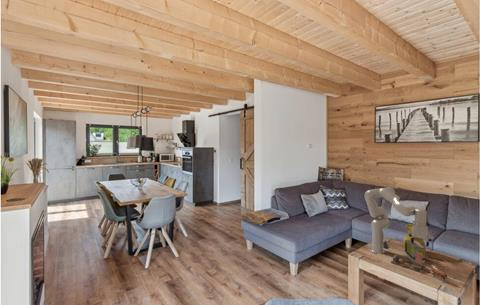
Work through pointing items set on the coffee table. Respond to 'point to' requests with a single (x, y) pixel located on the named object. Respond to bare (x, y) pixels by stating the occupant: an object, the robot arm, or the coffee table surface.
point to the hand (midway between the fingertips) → (419, 244)
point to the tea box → (414, 250)
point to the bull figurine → (438, 273)
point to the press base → (406, 264)
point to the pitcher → (409, 228)
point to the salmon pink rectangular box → (418, 261)
